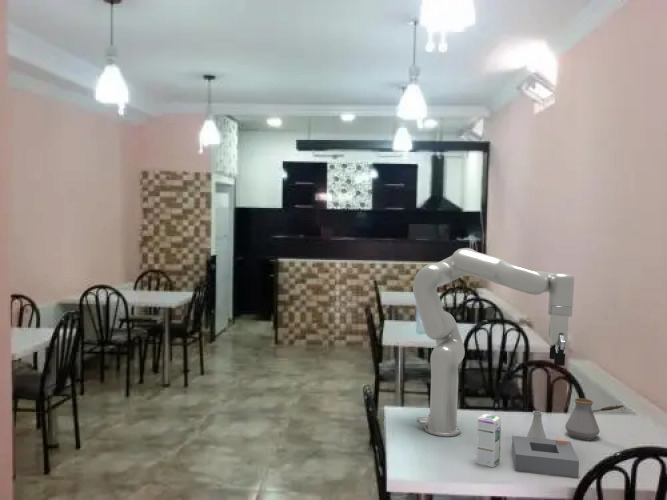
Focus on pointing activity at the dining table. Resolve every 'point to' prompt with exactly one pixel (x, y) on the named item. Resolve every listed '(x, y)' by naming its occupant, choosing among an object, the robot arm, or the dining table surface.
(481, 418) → the syrup box
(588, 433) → the coffee pot
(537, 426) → the flask
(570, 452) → the socket block
